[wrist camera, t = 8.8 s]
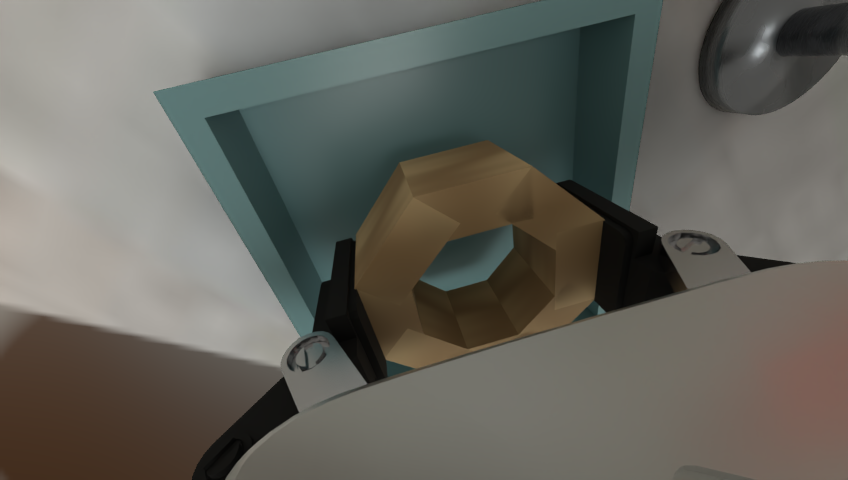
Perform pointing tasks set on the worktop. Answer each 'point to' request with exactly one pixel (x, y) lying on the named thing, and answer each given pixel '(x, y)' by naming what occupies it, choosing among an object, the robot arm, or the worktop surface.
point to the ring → (459, 217)
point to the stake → (770, 52)
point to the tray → (418, 130)
